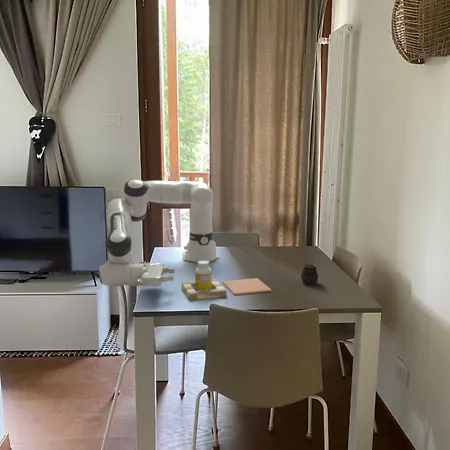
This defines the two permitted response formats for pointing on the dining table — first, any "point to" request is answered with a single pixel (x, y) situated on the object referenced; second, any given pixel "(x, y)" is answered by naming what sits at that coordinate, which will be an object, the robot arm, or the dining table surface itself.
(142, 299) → the dining table surface
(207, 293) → the frame
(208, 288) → the supplement bottle
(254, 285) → the terracotta tile
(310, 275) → the mate gourd
